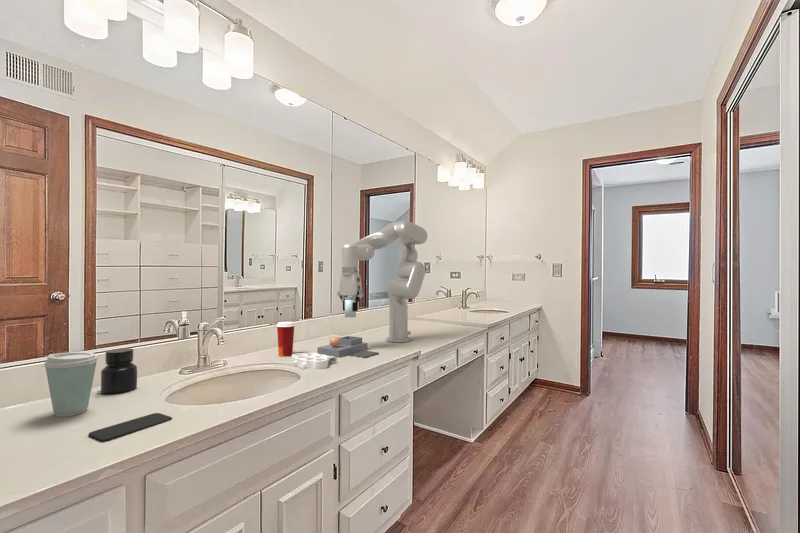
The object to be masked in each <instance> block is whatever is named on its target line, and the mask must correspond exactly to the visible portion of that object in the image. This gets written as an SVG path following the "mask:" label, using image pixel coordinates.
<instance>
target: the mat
mask: <svg viewBox="0 0 800 533" xmlns="http://www.w3.org/2000/svg"><path fill="white" fill-rule="evenodd" d="M379 354H380V353H379V352H377V351H371V350H370V351H369V350H364V351H360V352H357V353H353V354H350V355H349V356H350V357H353V356H356V357H355V358H360V357H362V359H367V358H370V356H371V357H375V356H377V355H379Z"/></svg>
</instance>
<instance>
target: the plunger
mask: <svg viewBox="0 0 800 533" xmlns="http://www.w3.org/2000/svg"><path fill="white" fill-rule="evenodd" d="M340 338H341V336H339V337H338V336H331V337H329V345H331V346H333V348H337V346H338V345H340Z"/></svg>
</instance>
